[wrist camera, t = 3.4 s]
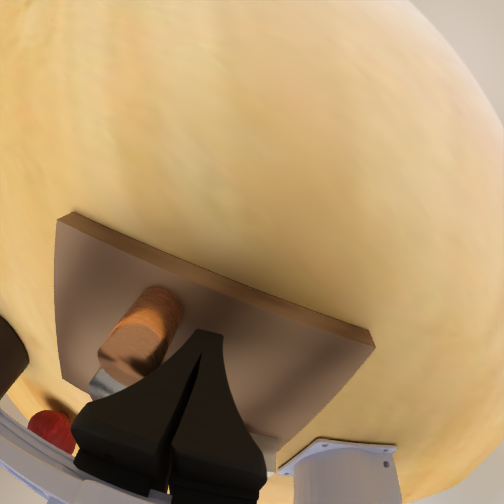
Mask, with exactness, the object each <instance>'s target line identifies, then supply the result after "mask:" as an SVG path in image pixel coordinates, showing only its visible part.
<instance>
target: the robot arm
mask: <svg viewBox="0 0 504 504" xmlns="http://www.w3.org/2000/svg"><path fill="white" fill-rule="evenodd" d="M223 339H224V336H223V335H222V334H219V333H214V332H210V331H206V330H202V329H196V330H195V331H194V333H193V334H192V335H191V336H190V338H189V339H188V340H187V341H186V342H185V343H184V344H183V345H182V346H181V347H180V348H179V349H178V350H177V351H176V352H175V353H174V354H173V355H172V356H171V357H170V358H169V359H168V360H167V361H165V362H164V363H163V364H162V365H161V366H159V367H158V368H157V369H156V370H154V371H153V372H151V373H150V374H149V375H147V376H146V377H144V378H142V379H141V380H139V381H138V382H136V383H134V384H132V385H131V386H129V387H127V388H125V389H123V390H120V391H118V392H116V393H114V394H112V395H109V396H107V397H104V398H101V399H98V400H95V401H92V402H88V403H87V404H86V405H85V406H84V407H83V409H82V410H81V411H80V412H79V414H78V415H77V417H76V419H75V420H74V422H73V424H72V426H71V428H70V431H71V433H72V436H73V438H74V439H75V441H76V443H77V444H78V446H79V448H80V449H79V451H78V453H77V455H76V457H74V456H72V455H70V454H68V453H66V452H64V451H63V450H61V449H59V448H57V447H56V446H54V445H52V444H51V443H49V442H47V441H46V440H44V439H42V438H41V437H39V436H38V435H36V434H35V433H33V432H32V431H30V430H29V429H27V428H26V427H24V426H23V425H21V424H20V423H19V422H17V421H16V420H14V419H13V418H12V417H10V416H9V415H8V414H7V413H5V412H4V411H3V410H1V409H0V465H1V466H2V467H4V468H5V469H6V470H7V471H8V472H10V473H11V474H12V475H13V476H15V477H16V478H18V479H19V480H20V481H21V482H23V483H24V484H25V485H27V486H28V487H29V488H31V489H32V490H34V491H35V492H37V493H38V494H40V495H41V496H43V497H44V498H46V499H47V500H48V502H47V504H257V500H258V498H259V490H260V489H261V488H262V487H263V486H264V485H265V483H266V482H267V468H266V463H265V459H264V456H263V452H262V451H261V450H260V448H259V447H258V445H257V444H256V442H255V441H254V439H253V438H252V436H251V435H250V433H249V431H248V429H247V428H246V426H245V424H244V422H243V420H242V418H241V416H240V414H239V412H238V409H237V407H236V404H235V402H234V399H233V396H232V394H231V390H230V387H229V383H228V380H227V375H226V370H225V364H224V357H223ZM397 449H398V448H397V446H396V445H376V444H362V443H352V442H343V441H335V440H327V439H317V440H315V441H314V442H313V443H312V444H310V445H309V446H308V447H307V448H305V449H304V450H303V451H302V452H301V453H299V454H298V455H297V456H295V457H294V458H293V459H292V460H290V461H289V462H288V463H286V464H285V465H284V466H282V467H281V468H279V469H278V470H277V474H279V475H286V476H294V504H402V496H401V491H400V486H399V481H398V477H397V472H396V468H395V463H394V459H393V455H392V453H394V452H395V451H396V450H397ZM168 486H169V490H170V495H169V494H167V490H168Z"/></svg>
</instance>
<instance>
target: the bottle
mask: <svg viewBox="0 0 504 504" xmlns="http://www.w3.org/2000/svg"><path fill="white" fill-rule="evenodd" d="M27 365H28V358H27V353H26V351H25V349H24V346H23V344H22V343H21V341H20V339H19V338H18V336H17V335H16V333H15V332H14V331H13V329H12V328H11V327H10V326H9V325H8V324H7V322H6V321H5V320H3V319H2V318H1V317H0V400H1V398H2V397H3V396H4V394H5V393H6V392H7V391H8V389H9V388H10V387H11V386H12V384H13V383H14V382H15V381H16V379H17V378H18V377H19V376H20V375H21V373H22V372H23V371H24V370H25V369H26V367H27Z"/></svg>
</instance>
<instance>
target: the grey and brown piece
mask: <svg viewBox="0 0 504 504" xmlns="http://www.w3.org/2000/svg"><path fill="white" fill-rule="evenodd" d="M183 317H184V311H183V307H182V305H181V303H180V301H179V300H178V298H177V297H176V296H175V295H174V294H172V293H171V292H169V291H167V290H165V289H163V288H158V287H151V288H148V289H145V290H144V291H143V292H142V293H141V294H140V295H139V297H138V298H137V299H136V300H135V302H134V303H133V304H132V305H131V307H130V308H129V309H128V311H127V312H126V313H125V314H124V316H123V317H122V318H121V320H120V321H119V322H118V323H117V325H116V326H115V327H114V329H113V330H112V331H111V333H110V334H109V335H108V337H107V338H106V339H105V341H104V342H103V343H102V345H101V346H100V348H99V349H98V360H99V362H100V364H101V366H100V367H99V369H98V371H97V372H96V374H95V375H94V377H93V378H92V380H91V381H90V383H89V387H88V389H89V394H90V396H91V398H92V400H93V401H95V400H98V399H101V398H104V397H107V396H109V395H112V394H114V393H116V392H118V391H120V390H123V389H125V388H127V387H129V386H131V385H132V384H134V383H136V382H138V381H139V380H141V379H142V378H144V377H146V376H147V375H149V374H150V373H151V372H153V371H154V370H156V369H157V368H158V367H159V366H161V364H162V362H163V360H164V358H165V355H166V353H167V351H168V349H169V347H170V345H171V343H172V341H173V339H174V337H175V334H176V332H177V330H178V328H179V326H180V324H181V322H182V320H183Z"/></svg>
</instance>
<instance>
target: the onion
mask: <svg viewBox="0 0 504 504" xmlns="http://www.w3.org/2000/svg"><path fill="white" fill-rule="evenodd" d="M71 426H72V424H71V422H70V420H69V417H68V415H67V414H66V413H64V412H57V411H51V410H44V411H40V412H38V413H36V414H35V415H34V416H33V417H32V418H31V419H30V421H29V423H28V428H27V429H29V430H30V431H32V432H33V433H35V434H36V435H38V436H39V437H41V438H42V439H44V440H46V441H47V442H49V443H51V444H52V445H54V446H56V447H57V448H59V449H61V450H63V451H64V452H66V453H68V454H70V455H71V454H72V453H73V451H74V449H75V445H76V441H75V439H74V438H73V436H72V433H71V431H70V428H71Z"/></svg>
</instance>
